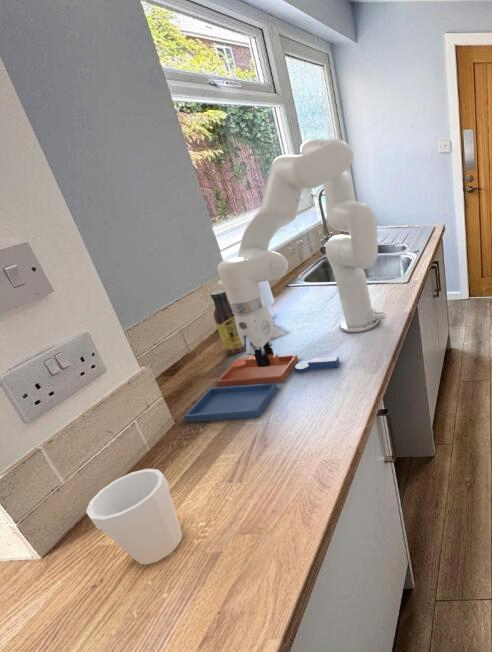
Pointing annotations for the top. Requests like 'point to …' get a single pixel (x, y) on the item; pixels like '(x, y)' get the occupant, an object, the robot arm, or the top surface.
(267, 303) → the soap bottle
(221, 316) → the sauce bottle
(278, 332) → the stacked layers on plate
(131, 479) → the foam cup
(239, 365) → the terracotta spoon
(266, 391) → the blue tray
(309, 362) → the blue spoon
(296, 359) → the terracotta tray
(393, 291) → the top surface
